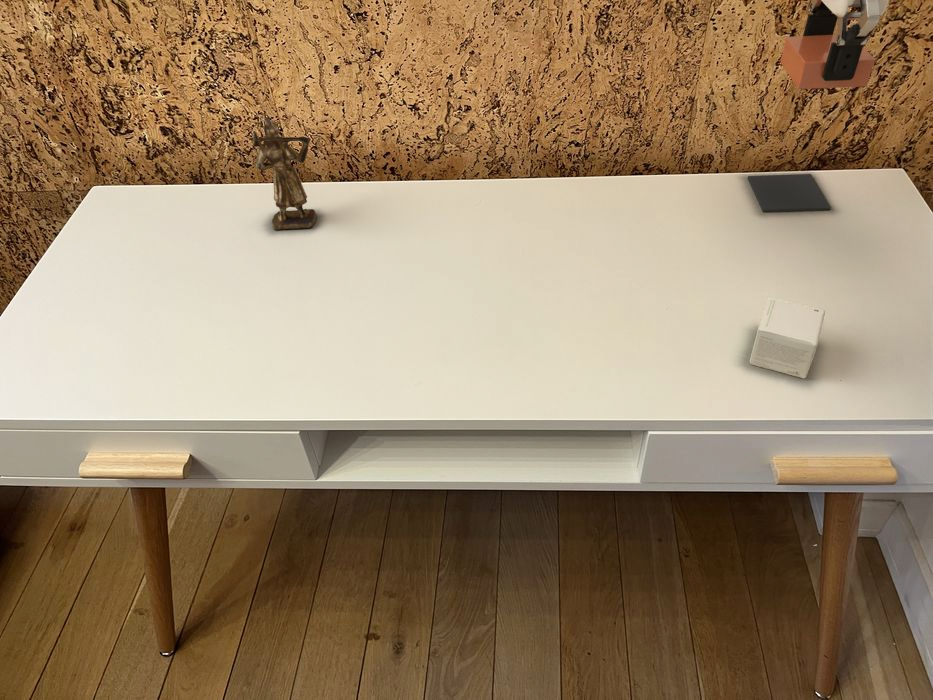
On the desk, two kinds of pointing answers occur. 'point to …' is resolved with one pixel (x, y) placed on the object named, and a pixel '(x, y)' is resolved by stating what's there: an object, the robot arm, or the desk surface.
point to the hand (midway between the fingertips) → (825, 63)
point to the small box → (787, 337)
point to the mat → (788, 193)
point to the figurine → (284, 176)
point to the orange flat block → (819, 63)
